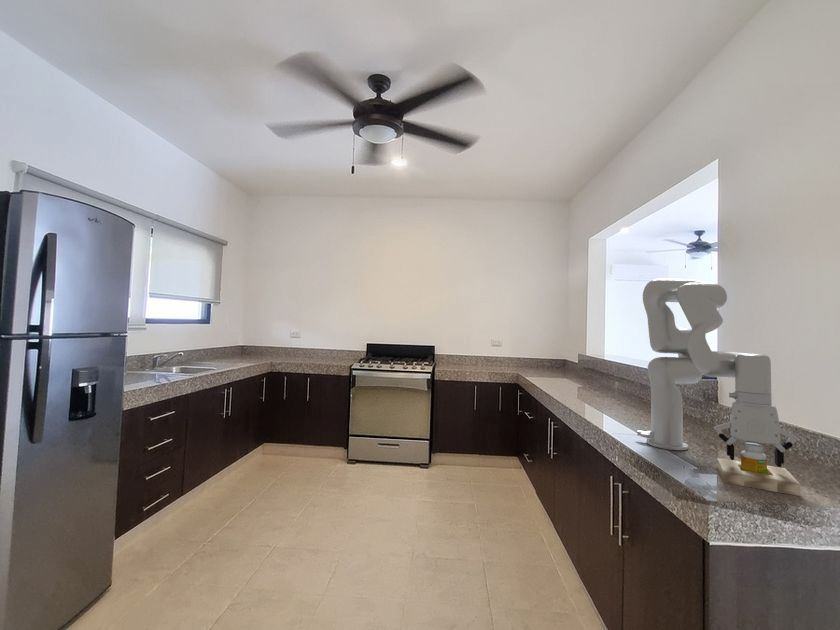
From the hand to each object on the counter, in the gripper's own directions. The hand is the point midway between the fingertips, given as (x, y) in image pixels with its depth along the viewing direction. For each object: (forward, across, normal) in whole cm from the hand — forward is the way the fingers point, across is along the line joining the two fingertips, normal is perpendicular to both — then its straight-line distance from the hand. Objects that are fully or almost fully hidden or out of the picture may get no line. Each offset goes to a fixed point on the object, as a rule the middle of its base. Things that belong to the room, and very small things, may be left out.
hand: (754, 462), depth 105 cm
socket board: (+5, 0, 0) cm, 5 cm away
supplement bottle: (+5, 0, 0) cm, 5 cm away
